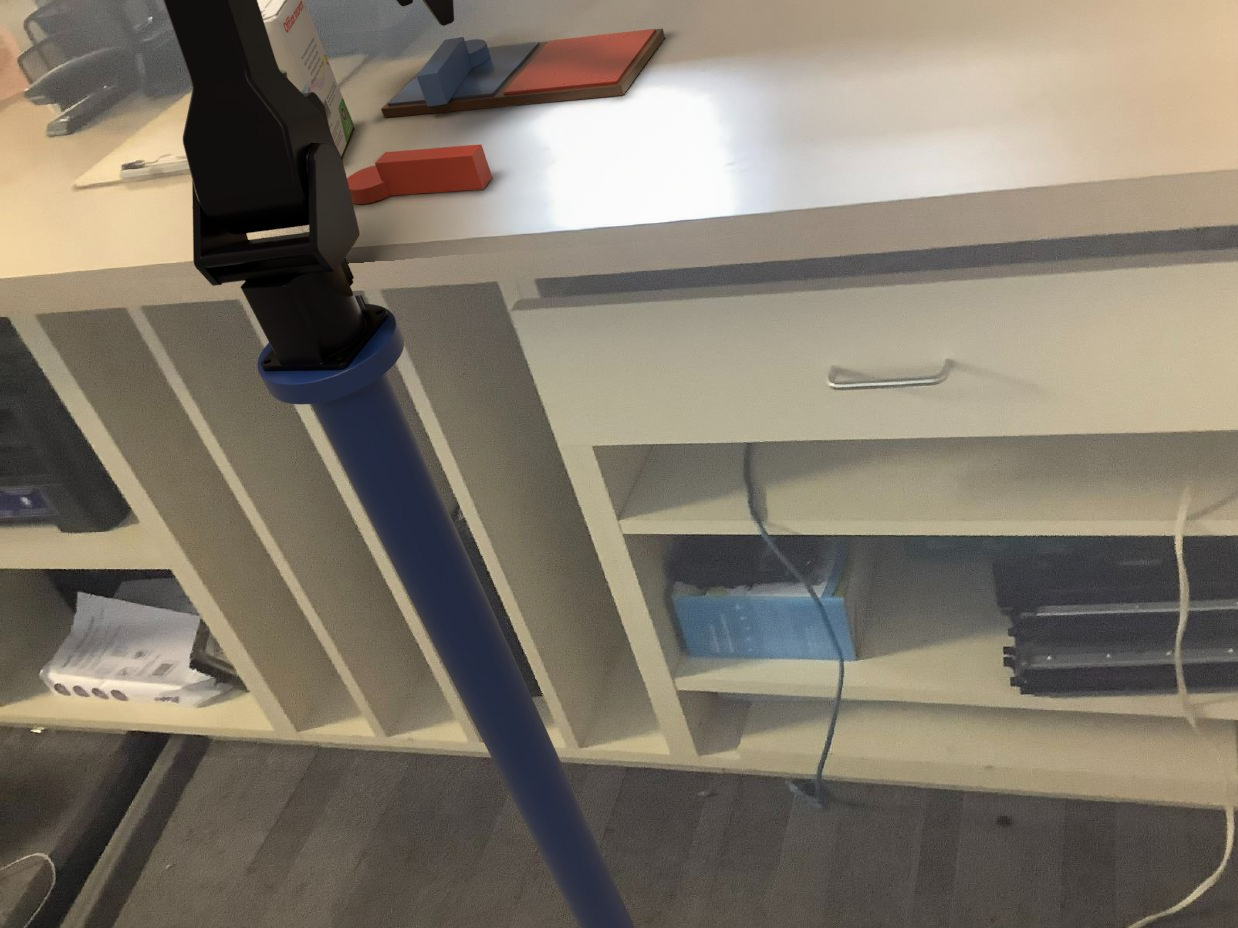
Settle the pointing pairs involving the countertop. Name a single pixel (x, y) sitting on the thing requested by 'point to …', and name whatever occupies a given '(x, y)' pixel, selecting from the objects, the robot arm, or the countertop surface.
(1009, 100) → the countertop surface
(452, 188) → the red stepped handle block
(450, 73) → the blue rounded tab block
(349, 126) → the ink box
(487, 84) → the sorting board
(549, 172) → the countertop surface
